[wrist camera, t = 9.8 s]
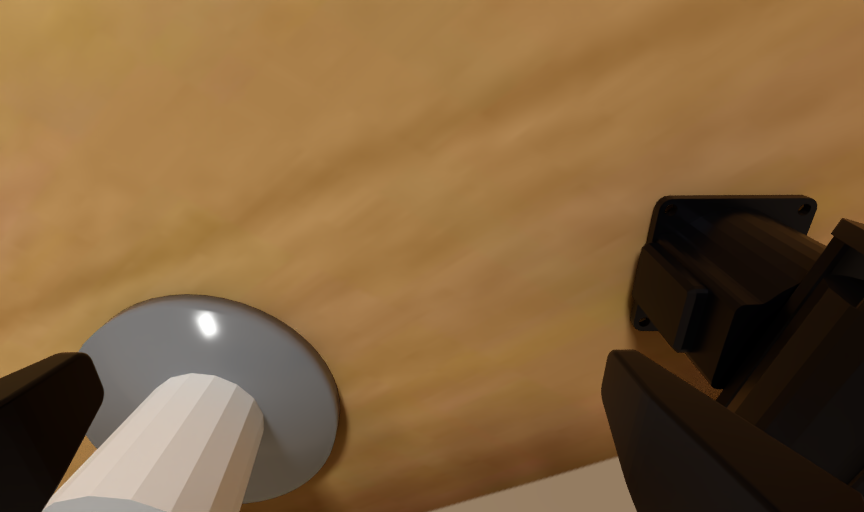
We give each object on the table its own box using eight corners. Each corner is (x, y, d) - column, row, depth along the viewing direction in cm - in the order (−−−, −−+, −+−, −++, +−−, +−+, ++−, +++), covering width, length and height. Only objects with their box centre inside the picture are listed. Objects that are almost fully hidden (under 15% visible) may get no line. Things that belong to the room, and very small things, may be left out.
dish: (326, 293, 21) (321, 307, 20) (349, 484, 27) (346, 503, 26) (46, 294, 21) (25, 308, 20) (128, 485, 27) (116, 504, 26)
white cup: (303, 412, 23) (254, 557, 16) (231, 483, 25) (164, 634, 19) (178, 337, 21) (69, 469, 14) (112, 421, 23) (-8, 567, 17)
